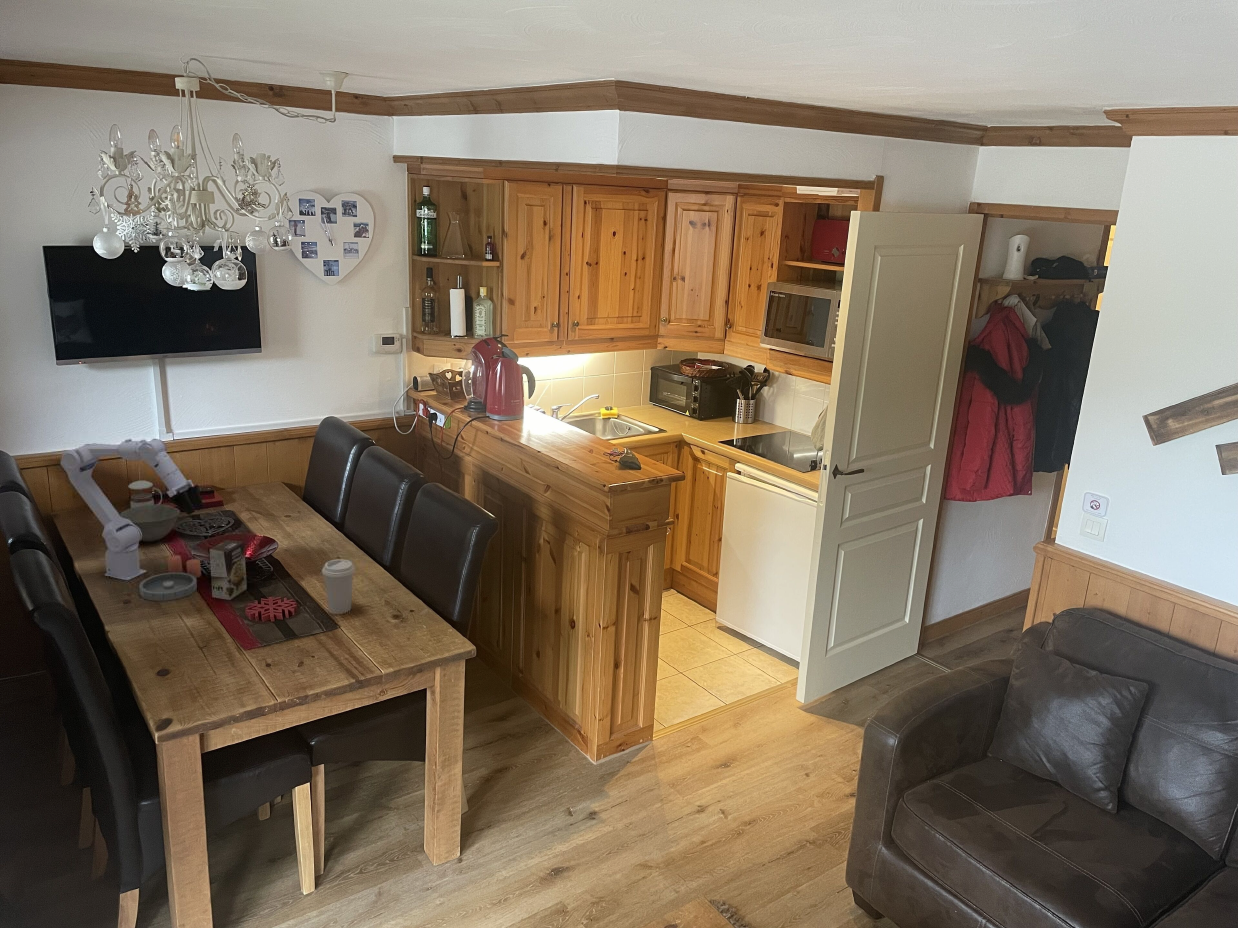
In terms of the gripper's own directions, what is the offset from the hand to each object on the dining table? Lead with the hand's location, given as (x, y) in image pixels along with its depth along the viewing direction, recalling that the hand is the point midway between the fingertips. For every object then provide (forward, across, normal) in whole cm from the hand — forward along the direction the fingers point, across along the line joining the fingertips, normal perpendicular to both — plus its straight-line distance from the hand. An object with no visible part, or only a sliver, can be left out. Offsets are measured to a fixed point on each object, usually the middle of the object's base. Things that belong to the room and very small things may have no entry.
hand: (196, 510), depth 285 cm
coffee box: (+27, -3, +6) cm, 28 cm away
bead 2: (+16, +10, +17) cm, 26 cm away
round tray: (+16, -2, +21) cm, 27 cm away
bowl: (-2, +40, +36) cm, 54 cm away
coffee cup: (+49, -12, -23) cm, 55 cm away
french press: (-10, +58, +42) cm, 73 cm away
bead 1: (+12, +12, +23) cm, 29 cm away
